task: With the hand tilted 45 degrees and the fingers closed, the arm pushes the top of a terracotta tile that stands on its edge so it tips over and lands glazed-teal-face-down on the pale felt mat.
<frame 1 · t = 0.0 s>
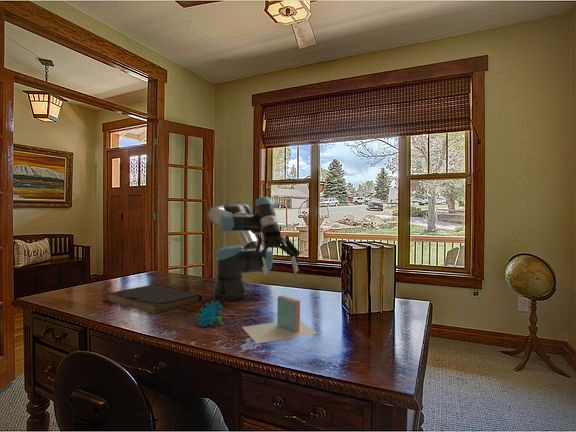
hand: (281, 272, 131), 15 cm above the table, tool tilted 35°, fingers open, 13 cm apart
dark hardcover book: (154, 302, 144), on the table
tile: (287, 328, 111), resting on felt mat
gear: (210, 325, 114), on the table
felt mat: (279, 331, 109), on the table
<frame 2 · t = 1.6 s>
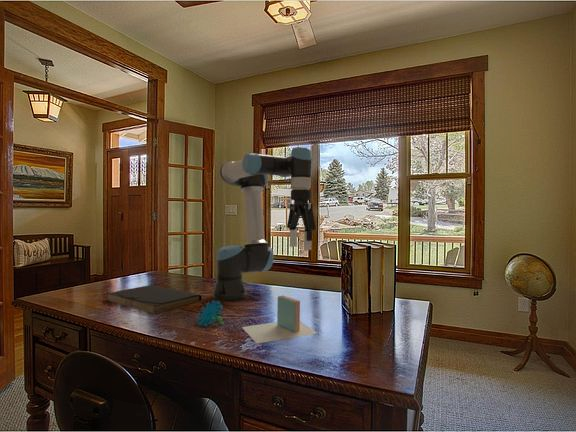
hand: (300, 248, 122), 26 cm above the table, tool pointing down, fingers open, 11 cm apart
nothing on the table moved.
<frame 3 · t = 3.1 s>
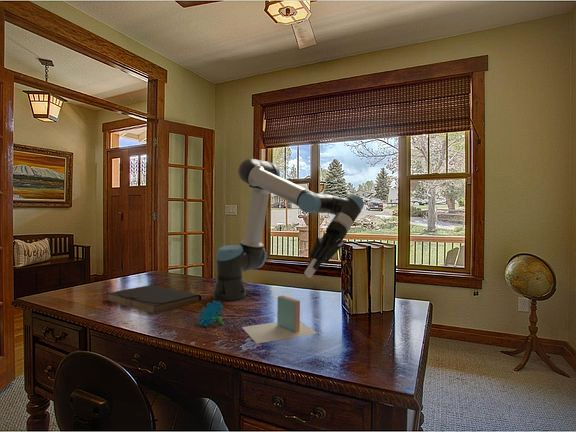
hand: (307, 275, 116), 17 cm above the table, tool tilted 45°, fingers closed
nothing on the table moved.
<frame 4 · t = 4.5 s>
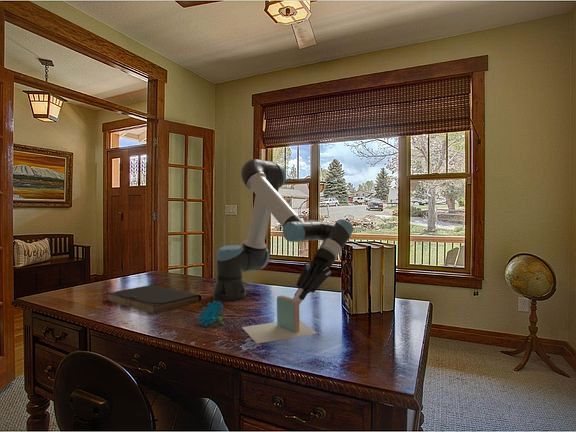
hand: (293, 306, 112), 8 cm above the table, tool tilted 45°, fingers closed
tile: (287, 328, 111), resting on felt mat, touching gripper
everything else where it was.
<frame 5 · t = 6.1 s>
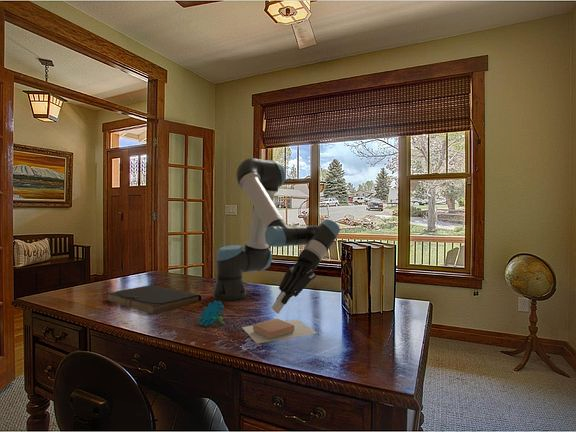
hand: (274, 310, 106), 7 cm above the table, tool tilted 45°, fingers closed
tile: (285, 325, 110), point 2 cm above the table, tilted 90°, touching felt mat
everything else where it was.
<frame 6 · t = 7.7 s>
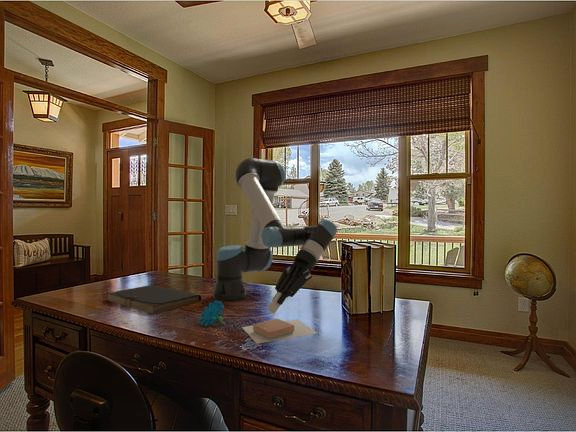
hand: (270, 311, 106), 8 cm above the table, tool tilted 45°, fingers closed
nothing on the table moved.
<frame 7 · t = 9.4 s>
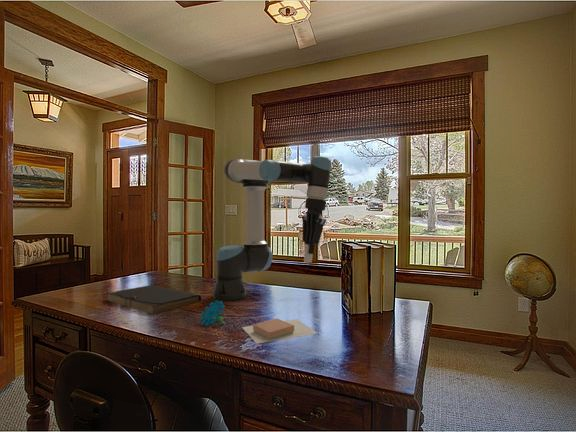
hand: (307, 262, 121), 21 cm above the table, tool pointing down, fingers closed
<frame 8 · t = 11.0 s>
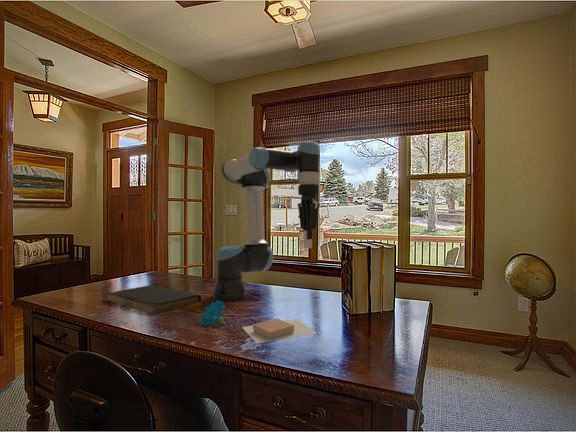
hand: (307, 248, 121), 26 cm above the table, tool pointing down, fingers closed
at the end: tile tilted 90°; tile inside the target area (2.9 cm from its centre), point 1.6 cm above the table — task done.
